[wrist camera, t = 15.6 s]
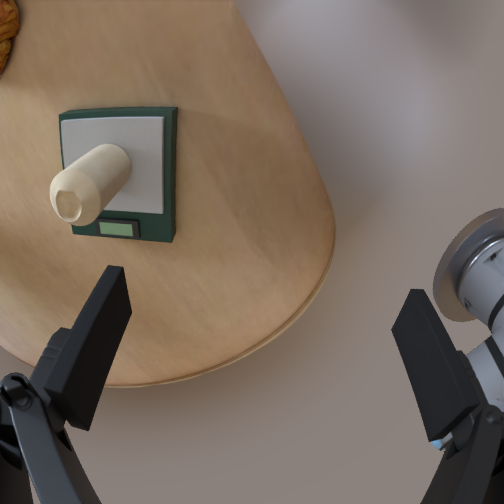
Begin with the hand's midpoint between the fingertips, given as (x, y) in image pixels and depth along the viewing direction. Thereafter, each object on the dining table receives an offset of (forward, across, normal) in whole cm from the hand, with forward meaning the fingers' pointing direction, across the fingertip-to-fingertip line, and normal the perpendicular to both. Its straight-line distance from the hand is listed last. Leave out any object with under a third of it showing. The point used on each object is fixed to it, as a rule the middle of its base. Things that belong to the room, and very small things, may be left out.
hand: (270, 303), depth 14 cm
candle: (+21, -17, -1) cm, 27 cm away
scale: (+24, -17, -3) cm, 30 cm away
